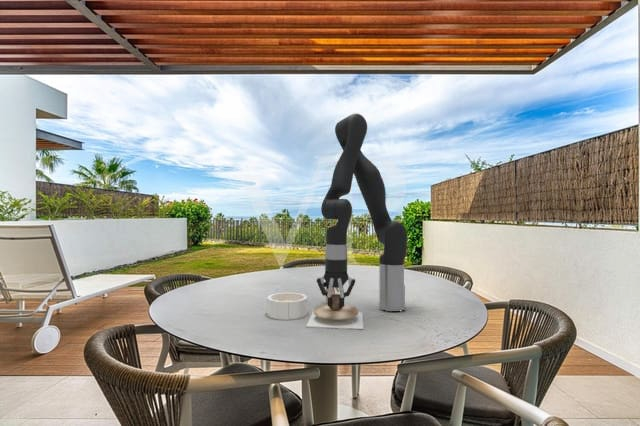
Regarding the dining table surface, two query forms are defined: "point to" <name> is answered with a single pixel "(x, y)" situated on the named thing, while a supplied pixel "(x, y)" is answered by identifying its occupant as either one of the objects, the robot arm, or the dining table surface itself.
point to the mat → (336, 322)
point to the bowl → (287, 306)
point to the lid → (335, 310)
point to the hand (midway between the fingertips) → (335, 307)
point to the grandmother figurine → (327, 290)
